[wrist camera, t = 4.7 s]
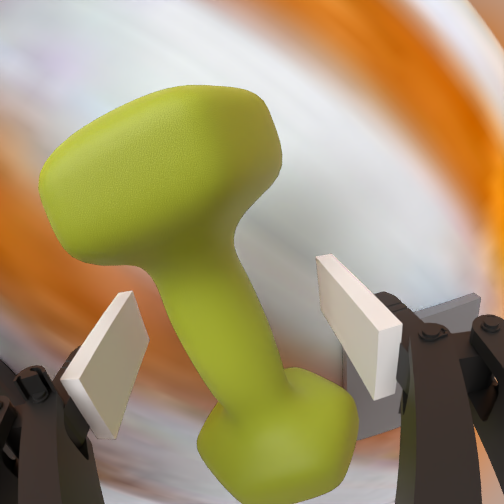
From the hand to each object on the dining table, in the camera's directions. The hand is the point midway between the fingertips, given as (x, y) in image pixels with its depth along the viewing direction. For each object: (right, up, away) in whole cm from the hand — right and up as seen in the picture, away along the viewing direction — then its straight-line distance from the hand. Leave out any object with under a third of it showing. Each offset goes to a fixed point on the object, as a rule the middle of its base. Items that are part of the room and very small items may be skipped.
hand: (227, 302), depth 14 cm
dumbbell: (0, 0, +1) cm, 1 cm away
